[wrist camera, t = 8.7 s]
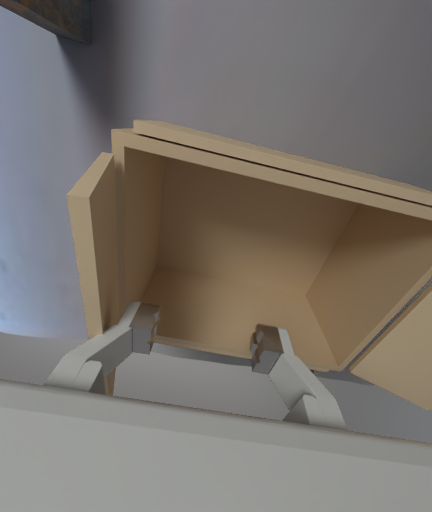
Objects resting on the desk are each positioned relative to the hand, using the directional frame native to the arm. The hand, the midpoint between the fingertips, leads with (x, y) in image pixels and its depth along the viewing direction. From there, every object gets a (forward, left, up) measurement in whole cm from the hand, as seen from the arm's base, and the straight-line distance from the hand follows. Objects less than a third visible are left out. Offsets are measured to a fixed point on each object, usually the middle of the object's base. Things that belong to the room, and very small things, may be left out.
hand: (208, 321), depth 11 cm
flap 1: (0, -6, -3) cm, 7 cm away
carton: (0, +4, -14) cm, 14 cm away
